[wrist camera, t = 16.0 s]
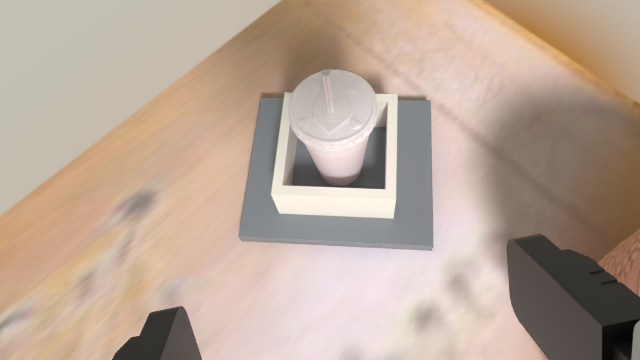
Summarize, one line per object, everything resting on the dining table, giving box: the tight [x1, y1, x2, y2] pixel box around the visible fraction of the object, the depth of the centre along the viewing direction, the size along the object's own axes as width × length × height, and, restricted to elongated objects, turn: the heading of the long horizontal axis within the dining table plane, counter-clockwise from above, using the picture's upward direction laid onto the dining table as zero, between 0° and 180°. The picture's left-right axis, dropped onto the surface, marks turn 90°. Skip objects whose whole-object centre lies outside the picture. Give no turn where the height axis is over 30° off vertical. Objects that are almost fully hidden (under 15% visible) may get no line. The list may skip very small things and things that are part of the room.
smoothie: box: [288, 69, 378, 186], centre depth 37 cm, size 6×6×14 cm
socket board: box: [239, 92, 433, 251], centre depth 42 cm, size 16×14×5 cm
